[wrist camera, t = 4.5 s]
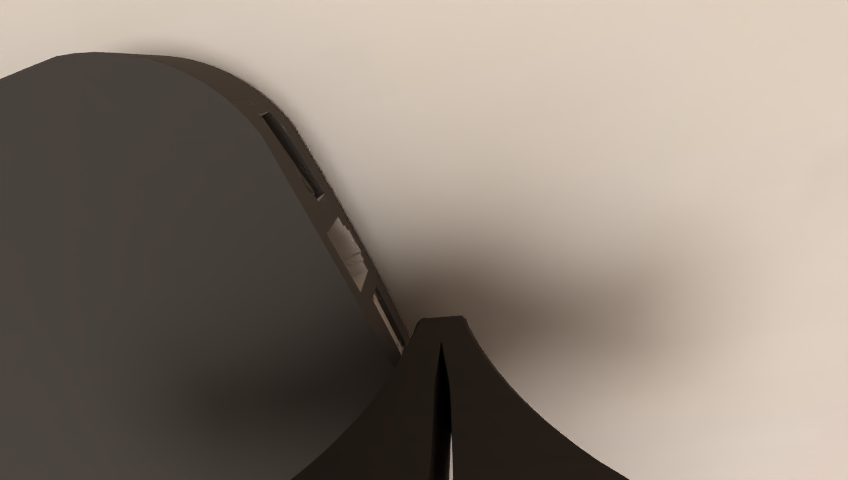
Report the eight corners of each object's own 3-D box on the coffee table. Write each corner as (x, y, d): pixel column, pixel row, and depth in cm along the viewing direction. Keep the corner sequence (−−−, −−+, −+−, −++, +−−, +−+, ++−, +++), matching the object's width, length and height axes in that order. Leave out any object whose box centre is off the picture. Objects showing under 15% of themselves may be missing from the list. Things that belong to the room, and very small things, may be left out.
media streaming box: (-183, 227, 12) (-365, 272, 9) (236, -4, 10) (158, -33, 7) (134, 533, 17) (75, 622, 14) (464, 430, 15) (472, 513, 12)
